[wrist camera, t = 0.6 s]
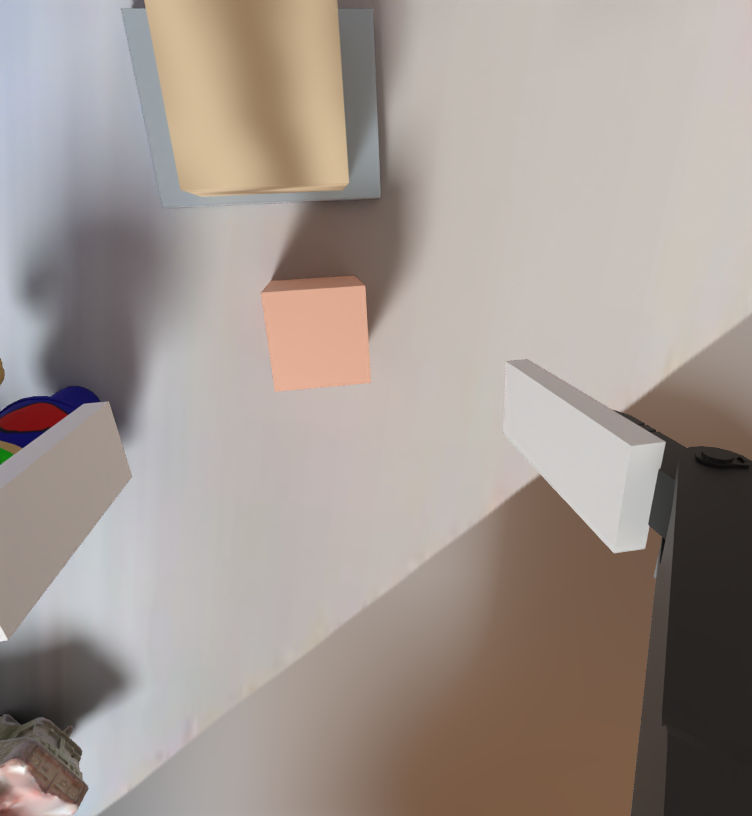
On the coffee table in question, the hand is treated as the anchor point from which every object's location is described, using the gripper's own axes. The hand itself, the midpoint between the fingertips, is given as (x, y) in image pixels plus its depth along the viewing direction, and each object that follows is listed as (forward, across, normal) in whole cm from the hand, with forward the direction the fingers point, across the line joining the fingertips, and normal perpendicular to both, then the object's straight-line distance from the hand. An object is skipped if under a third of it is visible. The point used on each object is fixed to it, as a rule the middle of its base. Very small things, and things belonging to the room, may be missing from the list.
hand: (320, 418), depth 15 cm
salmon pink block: (+20, 0, 0) cm, 20 cm away
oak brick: (+18, -2, +13) cm, 23 cm away
